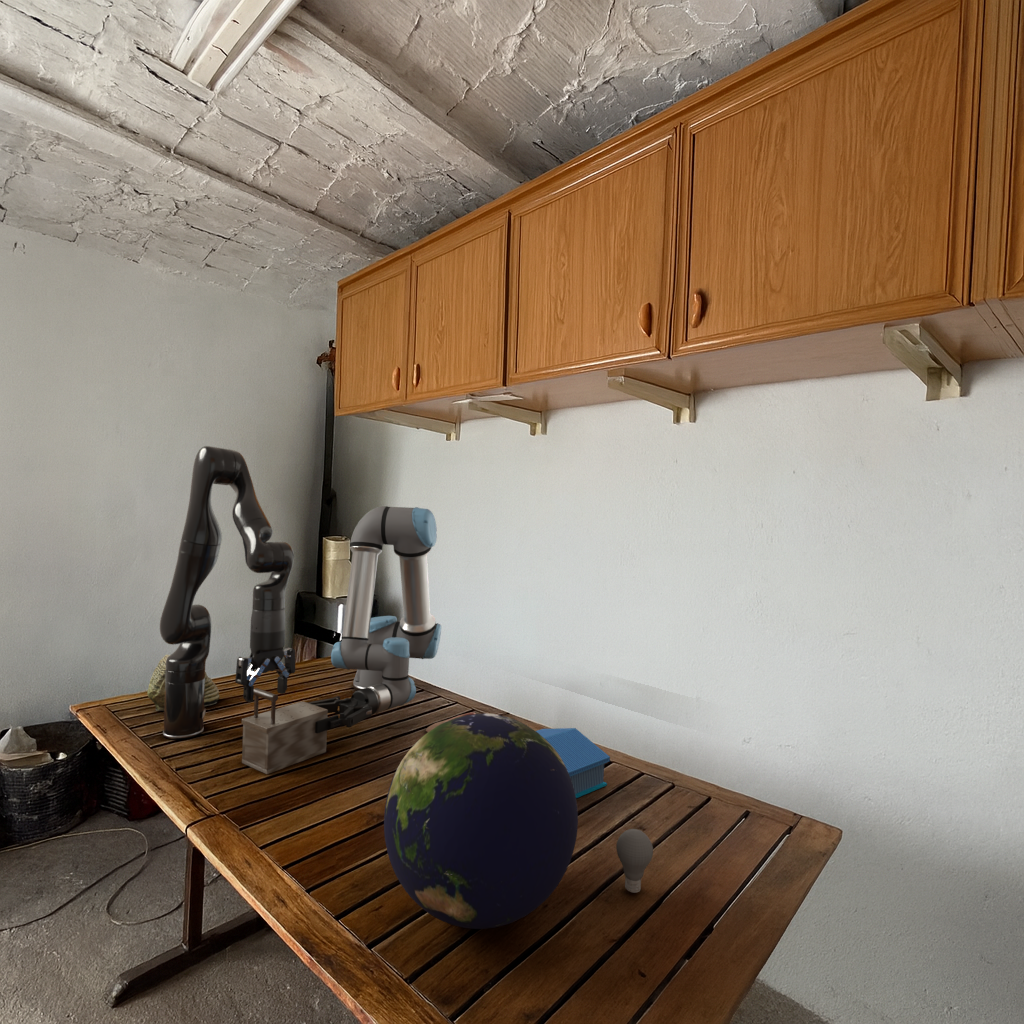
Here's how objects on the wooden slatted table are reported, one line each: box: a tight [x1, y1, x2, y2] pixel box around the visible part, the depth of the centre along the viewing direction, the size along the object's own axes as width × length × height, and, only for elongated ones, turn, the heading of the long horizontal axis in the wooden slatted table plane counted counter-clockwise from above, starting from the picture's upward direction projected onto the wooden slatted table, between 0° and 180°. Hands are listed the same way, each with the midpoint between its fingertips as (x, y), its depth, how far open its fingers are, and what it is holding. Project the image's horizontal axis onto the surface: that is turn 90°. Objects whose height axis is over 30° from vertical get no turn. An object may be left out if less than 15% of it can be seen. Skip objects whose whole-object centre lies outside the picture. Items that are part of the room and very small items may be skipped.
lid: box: [241, 687, 329, 733], centre depth 152 cm, size 17×10×8 cm, turn 146°
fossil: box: [147, 654, 221, 712], centre depth 185 cm, size 9×18×15 cm, turn 132°
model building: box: [535, 727, 611, 799], centre depth 138 cm, size 39×24×10 cm, turn 132°
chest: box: [241, 713, 329, 775], centre depth 153 cm, size 17×10×9 cm, turn 146°
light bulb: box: [615, 828, 654, 894], centre depth 106 cm, size 6×6×10 cm
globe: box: [383, 712, 579, 930], centre depth 99 cm, size 30×30×30 cm
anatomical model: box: [425, 711, 477, 733], centre depth 175 cm, size 13×4×12 cm
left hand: (265, 697), depth 147 cm, fingers open, 8 cm apart
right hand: (302, 722), depth 156 cm, fingers closed on chest, 10 cm apart
